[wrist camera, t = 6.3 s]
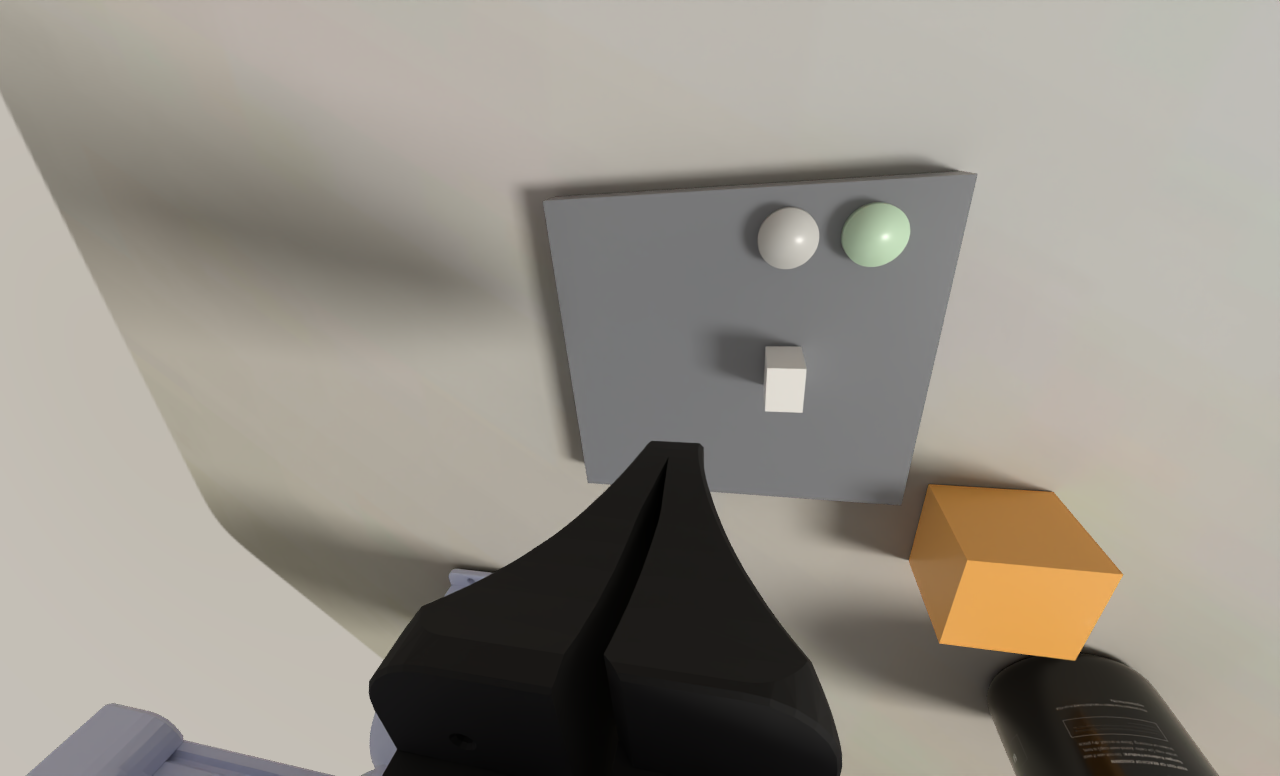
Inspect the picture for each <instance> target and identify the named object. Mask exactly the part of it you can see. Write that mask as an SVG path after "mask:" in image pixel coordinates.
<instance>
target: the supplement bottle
mask: <svg viewBox="0 0 1280 776" xmlns="http://www.w3.org/2000/svg"><path fill="white" fill-rule="evenodd" d="M987 704H988V708H989V711H990V714H991V716H992V719H993V721H994V724H995V726H996V729H997V731H998V734H999V736H1000V739H1001V741H1002V743H1003V746H1004V748H1005V751H1006V753H1007V755H1008V758H1009V760H1010V763H1011V765H1012V767H1013V770H1014V772H1015V775H1016V776H1219V775H1218V774H1217V772H1216V771H1215V770H1214V768H1213V767H1212V765H1211V764H1210V763H1209V761H1208V760H1207V759H1206V757H1205V756H1204V754H1203V753H1202V752H1201V750H1200V749H1199V748H1198V746H1197V745H1196V744H1195V742H1194V741H1193V739H1192V738H1191V737H1190V735H1189V734H1188V733H1187V731H1186V730H1185V728H1184V727H1183V726H1182V724H1181V723H1180V722H1179V720H1178V719H1177V718H1176V716H1175V715H1174V713H1173V712H1172V711H1171V709H1170V708H1169V707H1168V705H1167V704H1166V702H1165V701H1164V700H1163V698H1162V697H1161V696H1160V694H1159V693H1158V692H1157V690H1156V689H1155V688H1154V687H1153V686H1152V685H1151V683H1150V682H1149V681H1148V680H1147V679H1145V678H1144V677H1143V676H1142V675H1141V674H1139V673H1138V672H1136V671H1135V670H1133V669H1132V668H1130V667H1128V666H1126V665H1124V664H1122V663H1119V662H1117V661H1114V660H1111V659H1108V658H1105V657H1101V656H1096V655H1090V654H1082V653H1079V655H1078V657H1077V658H1076V660H1075V661H1074V660H1066V659H1058V658H1050V657H1043V656H1035V657H1031V658H1028V659H1024V660H1022V661H1019V662H1017V663H1014V664H1012V665H1010V666H1008V667H1007V668H1005V669H1004V670H1002V671H1001V672H1000V673H999V674H998V675H997V676H996V677H995V678H994V679H993V680H992V682H991V684H990V686H989V689H988V693H987Z"/></svg>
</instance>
